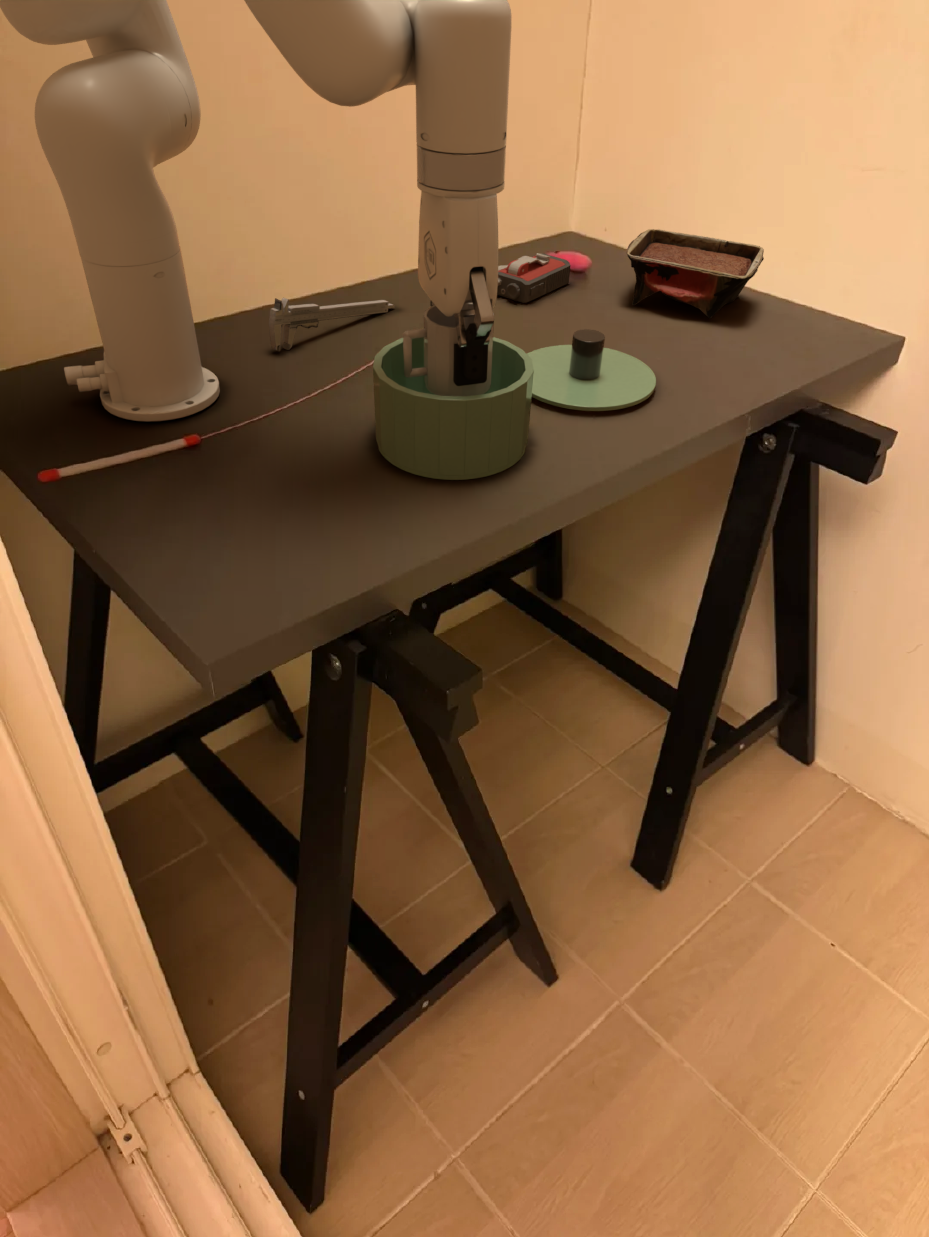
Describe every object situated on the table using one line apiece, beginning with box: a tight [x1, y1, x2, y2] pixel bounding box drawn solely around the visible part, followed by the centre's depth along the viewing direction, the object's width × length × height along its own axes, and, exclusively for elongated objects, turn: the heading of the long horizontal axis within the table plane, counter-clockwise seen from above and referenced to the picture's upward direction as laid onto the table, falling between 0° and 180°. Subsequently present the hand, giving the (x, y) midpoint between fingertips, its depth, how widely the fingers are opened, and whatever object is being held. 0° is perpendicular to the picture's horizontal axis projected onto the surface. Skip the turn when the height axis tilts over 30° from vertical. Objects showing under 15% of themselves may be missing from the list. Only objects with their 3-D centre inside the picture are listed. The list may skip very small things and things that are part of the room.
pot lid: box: [526, 328, 657, 412], centre depth 100 cm, size 17×17×6 cm
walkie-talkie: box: [497, 252, 571, 304], centre depth 122 cm, size 9×4×20 cm
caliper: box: [268, 297, 396, 352], centre depth 110 cm, size 20×1×6 cm, turn 139°
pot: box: [372, 336, 534, 481], centre depth 88 cm, size 16×16×8 cm
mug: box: [402, 303, 495, 396], centre depth 84 cm, size 9×7×7 cm
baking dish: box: [626, 228, 765, 319], centre depth 121 cm, size 14×18×10 cm
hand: (458, 365), depth 86 cm, fingers closed on mug, 6 cm apart
